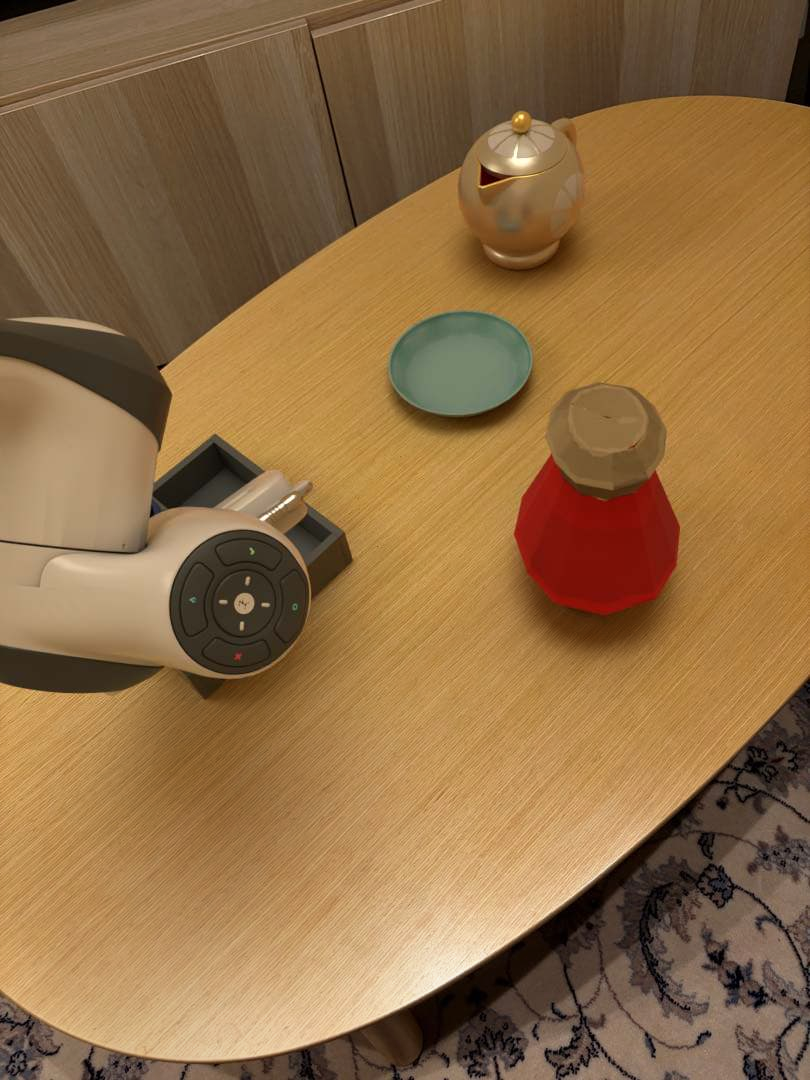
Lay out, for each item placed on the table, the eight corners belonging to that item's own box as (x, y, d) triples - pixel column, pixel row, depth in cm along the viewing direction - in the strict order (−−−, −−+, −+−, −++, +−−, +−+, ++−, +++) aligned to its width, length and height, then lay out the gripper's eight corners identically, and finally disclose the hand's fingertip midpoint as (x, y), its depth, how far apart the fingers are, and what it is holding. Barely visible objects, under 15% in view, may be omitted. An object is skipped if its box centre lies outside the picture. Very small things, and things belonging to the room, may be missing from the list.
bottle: (683, 645, 71) (734, 507, 55) (518, 650, 73) (518, 517, 56) (657, 491, 80) (693, 330, 63) (510, 498, 81) (507, 342, 64)
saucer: (561, 366, 89) (562, 347, 87) (470, 456, 84) (468, 438, 82) (452, 308, 96) (451, 289, 94) (362, 389, 91) (358, 371, 89)
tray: (205, 700, 73) (187, 677, 69) (85, 582, 81) (63, 556, 77) (353, 560, 79) (344, 531, 75) (228, 463, 87) (214, 432, 83)
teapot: (534, 307, 94) (537, 173, 81) (435, 264, 100) (422, 132, 86) (620, 215, 101) (636, 77, 87) (522, 180, 107) (523, 45, 93)
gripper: (293, 443, 57) (248, 453, 70) (21, 635, 52) (27, 608, 64) (345, 520, 59) (293, 516, 72) (88, 715, 53) (81, 673, 66)
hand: (165, 561), depth 68 cm, fingers closed on navy bottle, 6 cm apart
